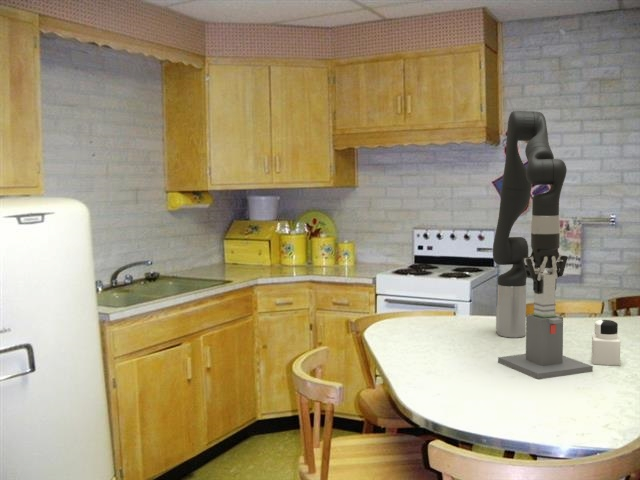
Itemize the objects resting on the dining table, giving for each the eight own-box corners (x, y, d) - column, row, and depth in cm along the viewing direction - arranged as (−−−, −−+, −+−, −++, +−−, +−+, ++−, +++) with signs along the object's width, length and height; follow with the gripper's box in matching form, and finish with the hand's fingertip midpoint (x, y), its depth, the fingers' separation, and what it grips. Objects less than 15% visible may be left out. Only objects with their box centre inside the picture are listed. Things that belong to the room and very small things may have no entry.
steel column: (533, 338, 192) (534, 273, 190) (545, 336, 193) (546, 272, 192) (542, 341, 188) (543, 275, 186) (555, 340, 190) (555, 274, 188)
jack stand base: (498, 362, 197) (498, 313, 196) (549, 355, 203) (549, 307, 202) (538, 379, 180) (538, 325, 179) (592, 371, 186) (593, 319, 185)
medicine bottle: (617, 359, 197) (618, 319, 196) (620, 366, 191) (620, 324, 190) (591, 358, 200) (592, 317, 199) (592, 364, 193) (593, 322, 192)
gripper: (557, 229, 194) (556, 289, 195) (515, 231, 189) (514, 292, 191) (575, 231, 187) (574, 293, 188) (532, 233, 182) (531, 297, 184)
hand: (544, 292), depth 190 cm, fingers closed on steel column, 4 cm apart
